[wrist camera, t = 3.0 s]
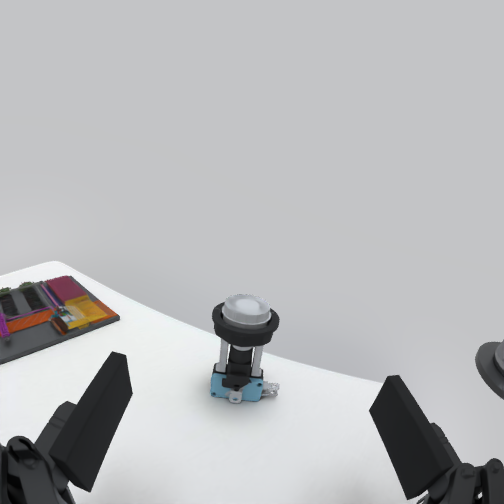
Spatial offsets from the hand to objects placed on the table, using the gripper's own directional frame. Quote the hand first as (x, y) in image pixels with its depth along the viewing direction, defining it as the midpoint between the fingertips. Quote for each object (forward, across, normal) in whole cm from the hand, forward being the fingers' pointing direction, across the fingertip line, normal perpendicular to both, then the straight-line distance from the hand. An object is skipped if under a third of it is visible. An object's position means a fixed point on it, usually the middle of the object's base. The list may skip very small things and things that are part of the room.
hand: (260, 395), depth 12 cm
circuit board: (+14, -31, -10) cm, 35 cm away
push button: (+10, 0, -10) cm, 14 cm away
